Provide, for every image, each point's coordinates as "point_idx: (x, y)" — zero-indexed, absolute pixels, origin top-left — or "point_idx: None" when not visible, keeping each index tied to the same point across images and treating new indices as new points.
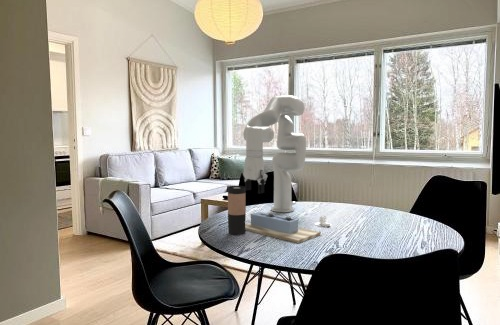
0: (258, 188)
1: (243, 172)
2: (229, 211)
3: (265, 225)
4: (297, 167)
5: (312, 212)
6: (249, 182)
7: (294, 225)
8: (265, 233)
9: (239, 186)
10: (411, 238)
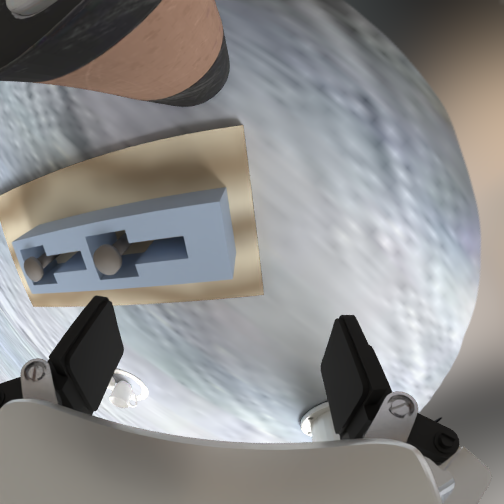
0: (73, 325)
1: (476, 483)
2: None
3: (127, 206)
4: None
5: (252, 441)
6: (344, 418)
7: None
8: (88, 160)
9: (72, 15)
10: (9, 375)
